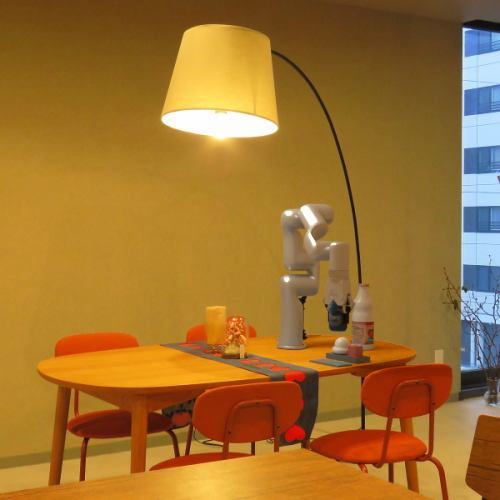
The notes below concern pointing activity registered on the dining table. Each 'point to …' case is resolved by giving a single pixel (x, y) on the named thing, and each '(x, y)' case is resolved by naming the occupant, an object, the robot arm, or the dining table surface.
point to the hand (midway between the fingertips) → (338, 322)
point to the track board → (330, 362)
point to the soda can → (336, 317)
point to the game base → (348, 358)
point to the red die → (355, 350)
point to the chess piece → (303, 300)
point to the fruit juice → (363, 319)
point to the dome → (341, 346)
